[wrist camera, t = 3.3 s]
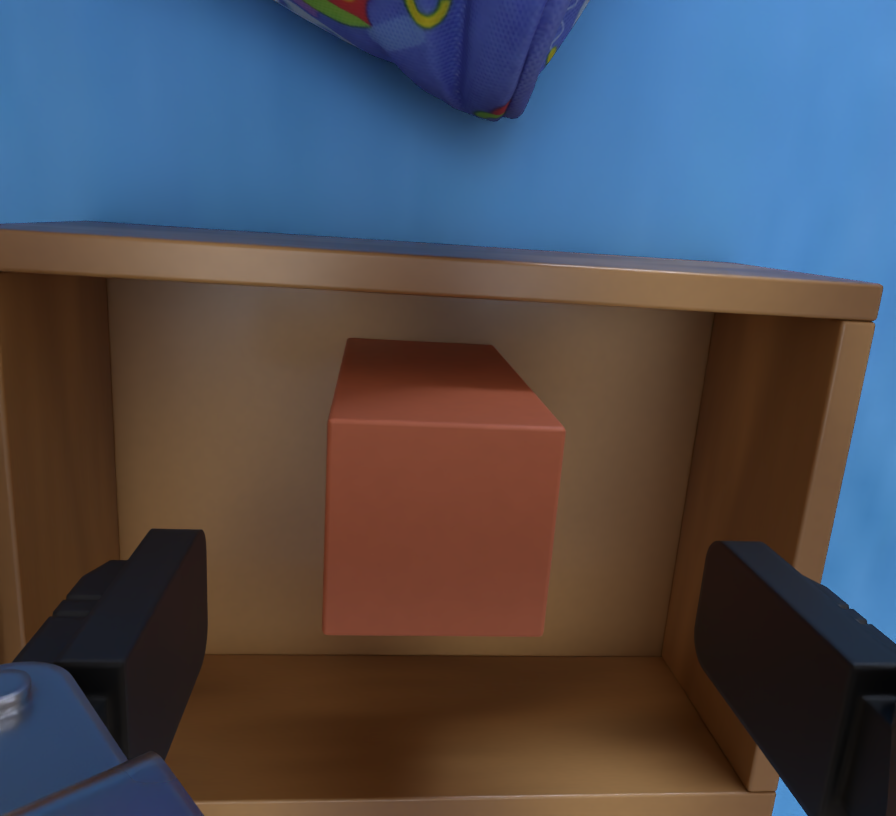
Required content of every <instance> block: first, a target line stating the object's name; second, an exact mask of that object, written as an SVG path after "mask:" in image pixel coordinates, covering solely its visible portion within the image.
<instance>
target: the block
mask: <svg viewBox="0 0 896 816" xmlns="http://www.w3.org/2000/svg"><path fill="white" fill-rule="evenodd" d="M565 435H566V430H565V428H564V426H563V425H562V424H561V423H560V422H559V421H558V419H557V418H556V417H555V416H554V415H553V414H552V413H551V411H550V410H549V409H548V408H547V407H546V406H545V405H544V403H543V402H542V401H541V400H540V399H539V398H538V396H537V395H536V394H535V393H534V392H533V391H532V390H531V388H530V387H529V386H528V385H527V384H526V383H525V382H524V380H523V379H522V378H521V377H520V376H519V375H518V373H517V372H516V371H515V370H514V369H513V368H512V367H511V365H510V364H509V363H508V362H507V361H506V360H505V359H504V357H503V356H502V355H501V354H500V353H499V352H498V350H497V349H496V348H495V347H494V346H492V345H482V344H462V343H442V342H422V341H403V340H383V339H363V338H348V339H347V341H346V346H345V350H344V354H343V358H342V363H341V367H340V371H339V375H338V380H337V384H336V388H335V392H334V397H333V401H332V405H331V409H330V414H329V418H328V422H327V458H326V495H325V532H324V570H323V607H322V631H323V633H324V634H325V635H361V636H486V637H540V636H542V635H543V632H544V624H545V615H546V606H547V597H548V588H549V579H550V570H551V561H552V552H553V543H554V534H555V525H556V516H557V507H558V498H559V489H560V480H561V471H562V462H563V453H564V444H565Z"/></svg>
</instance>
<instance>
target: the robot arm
mask: <svg viewBox="0 0 896 816" xmlns="http://www.w3.org/2000/svg"><path fill="white" fill-rule="evenodd" d="M207 633H208V603H207V550H206V538H205V533H204V531H203V530H202V529H157V528H152V529H150V530H149V532H148V533H147V534H146V536H145V537H144V538H143V540H142V541H141V543H140V544H139V545H138V547H137V548H136V549H135V551H134V552H133V554H132V555H131V556H130V558H129V559H128V560H110V561H108V562H106V563H104V564H103V565H101V566H99V567H98V568H96V569H94V570H92V571H91V572H89V573H87V574H85V575H84V576H82V577H81V579H80V580H79V581H78V582H77V583H76V585H75V586H74V587H73V588H72V589H71V591H70V592H69V593H68V594H67V596H66V600H62V602H61V603H60V604H59V605H58V606H57V608H56V609H55V610H54V611H53V615H52V616H49V617H48V619H47V620H46V621H45V622H44V623H43V625H42V626H41V627H40V628H39V630H38V631H37V632H36V633H35V634H34V636H33V637H32V638H31V639H30V640H29V642H28V643H27V644H26V645H25V647H24V648H23V649H22V650H21V651H20V653H19V654H18V655H17V656H16V658H15V659H14V660H13V661H12V662H11V663H7V664H2V665H0V816H204V815H203V813H202V812H201V811H200V809H199V808H198V806H197V805H196V804H195V802H194V801H193V800H192V798H191V797H190V795H189V794H188V793H187V791H186V790H185V788H184V787H183V786H182V784H181V783H180V782H179V780H178V779H177V777H176V776H175V775H174V773H173V772H172V771H171V769H170V768H169V766H168V765H167V764H166V762H165V759H166V756H167V754H168V751H169V749H170V746H171V743H172V741H173V738H174V736H175V733H176V731H177V728H178V726H179V723H180V721H181V718H182V715H183V713H184V710H185V708H186V705H187V703H188V700H189V698H190V695H191V692H192V690H193V687H194V685H195V682H196V680H197V677H198V675H199V672H200V670H201V667H202V664H203V660H204V656H205V650H206V644H207ZM694 644H695V650H696V655H697V658H698V661H699V663H700V666H701V667H702V669H703V671H704V672H705V673H706V675H707V676H708V678H709V679H710V680H711V682H712V683H713V684H714V686H715V687H716V689H717V690H718V691H719V693H720V694H721V696H722V697H723V698H724V700H725V701H726V703H727V704H728V705H729V707H730V708H731V709H732V711H733V712H734V714H735V715H736V716H737V718H738V719H739V721H740V722H741V723H742V725H743V726H744V728H745V729H746V730H747V732H748V733H749V735H750V736H751V737H752V739H753V740H754V741H755V743H756V744H757V746H758V747H759V748H760V750H761V751H762V753H763V754H764V755H765V757H766V758H767V760H768V761H769V762H770V764H771V765H772V767H773V768H774V769H775V771H776V772H777V773H778V775H779V776H780V778H781V779H782V780H783V782H784V783H785V785H786V786H787V787H788V789H789V790H790V792H791V793H792V794H793V796H794V797H795V798H796V800H797V801H798V803H799V804H800V805H801V807H802V808H803V810H804V811H805V812H806V814H807V815H808V816H896V644H895V643H894V642H893V641H891V640H890V639H889V638H888V637H887V636H885V635H884V634H883V633H882V632H880V631H879V630H878V629H877V628H876V627H874V626H873V625H872V624H867V620H866V619H865V618H863V617H862V616H861V615H860V614H859V613H857V612H856V611H855V610H854V609H849V605H848V604H846V603H845V602H844V601H843V600H842V599H840V598H839V597H838V596H837V595H836V594H834V593H833V592H832V591H831V590H829V589H828V588H827V587H825V586H823V585H821V584H819V583H817V582H815V581H813V580H811V579H809V578H807V577H806V576H804V575H802V574H801V573H800V572H798V571H797V570H796V569H795V568H794V567H792V566H791V565H790V564H789V563H788V562H786V561H785V560H784V559H783V558H782V557H781V556H779V555H778V554H777V553H776V552H775V551H773V550H772V549H771V548H770V547H769V546H767V545H766V544H765V543H763V542H760V541H714V542H713V543H712V544H711V545H710V546H709V548H708V551H707V554H706V558H705V564H704V571H703V577H702V583H701V589H700V595H699V602H698V608H697V614H696V620H695V627H694Z"/></svg>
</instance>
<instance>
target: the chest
mask: <svg viewBox="0 0 896 816" xmlns="http://www.w3.org/2000/svg"><path fill="white" fill-rule="evenodd" d="M882 292H883V286H882V285H880V284H878V283H871V282H864V281H857V280H850V279H843V278H836V277H829V276H822V275H815V274H808V273H801V272H794V271H787V270H780V269H773V268H766V267H759V266H752V265H745V264H738V263H728V262H713V261H697V260H682V259H666V258H651V257H636V256H620V255H605V254H589V253H574V252H558V251H543V250H528V249H512V248H497V247H481V246H466V245H450V244H435V243H420V242H404V241H389V240H373V239H358V238H342V237H327V236H312V235H296V234H281V233H265V232H250V231H234V230H219V229H204V228H188V227H173V226H157V225H142V224H126V223H111V222H96V221H69V222H37V223H5V224H0V665H2V664H7V663H11V662H12V661H13V660H14V659H15V658H16V656H17V655H18V654H19V653H20V651H21V650H22V649H23V648H24V647H25V645H26V644H27V643H28V642H29V640H30V639H31V638H32V637H33V636H34V634H35V633H36V632H37V631H38V630H39V628H40V627H41V626H42V625H43V623H44V622H45V621H46V620H47V619H48V617H49V616H52V615H53V611H54V610H55V609H56V608H57V606H58V605H59V604H60V603H61V602H62V600H66V596H67V594H68V593H69V592H70V591H71V589H72V588H73V587H74V586H75V585H76V583H77V582H78V581H79V580H80V579H81V577H82V576H84V575H85V574H87V573H89V572H91V571H92V570H94V569H96V568H98V567H99V566H101V565H103V564H104V563H106V562H108V561H110V560H128V559H129V558H130V556H131V555H132V554H133V552H134V551H135V549H136V548H137V547H138V545H139V544H140V543H141V541H142V540H143V538H144V537H145V536H146V534H147V533H148V532H149V530H150V529H152V528H157V529H202V530H203V531H204V533H205V538H206V550H207V603H208V633H207V644H206V650H205V656H204V660H203V664H202V667H201V670H200V672H199V675H198V677H197V680H196V682H195V685H194V687H193V690H192V692H191V695H190V698H189V700H188V703H187V705H186V708H185V710H184V713H183V715H182V718H181V721H180V723H179V726H178V728H177V731H176V733H175V736H174V738H173V741H172V743H171V746H170V749H169V751H168V754H167V756H166V759H165V762H166V764H167V765H168V766H169V768H170V769H171V771H172V772H173V773H174V775H175V776H176V777H177V779H178V780H179V782H180V783H181V784H182V786H183V787H184V788H185V790H186V791H187V793H188V794H189V795H190V797H191V798H192V800H193V801H194V802H195V804H196V805H197V806H198V808H199V809H200V811H201V812H202V813H203V815H204V816H772V811H773V806H774V802H775V797H776V793H775V791H776V790H777V786H778V781H779V775H778V773H777V772H776V771H775V769H774V768H773V767H772V765H771V764H770V762H769V761H768V760H767V758H766V757H765V755H764V754H763V753H762V751H761V750H760V748H759V747H758V746H757V744H756V743H755V741H754V740H753V739H752V737H751V736H750V735H749V733H748V732H747V730H746V729H745V728H744V726H743V725H742V723H741V722H740V721H739V719H738V718H737V716H736V715H735V714H734V712H733V711H732V709H731V708H730V707H729V705H728V704H727V703H726V701H725V700H724V698H723V697H722V696H721V694H720V693H719V691H718V690H717V689H716V687H715V686H714V684H713V683H712V682H711V680H710V679H709V678H708V676H707V675H706V673H705V672H704V671H703V669H702V667H701V666H700V663H699V661H698V658H697V655H696V650H695V644H694V627H695V620H696V614H697V608H698V602H699V595H700V589H701V583H702V577H703V571H704V564H705V558H706V554H707V551H708V548H709V546H710V545H711V544H712V543H713V542H714V541H760V542H763V543H765V544H766V545H767V546H769V547H770V548H771V549H772V550H773V551H775V552H776V553H777V554H778V555H779V556H781V557H782V558H783V559H784V560H785V561H786V562H788V563H789V564H790V565H791V566H792V567H794V568H795V569H796V570H797V571H798V572H800V573H801V574H802V575H804V576H806V577H807V578H809V579H811V580H813V581H815V582H817V583H819V584H820V583H821V579H822V574H823V569H824V565H825V560H826V555H827V551H828V546H829V541H830V536H831V532H832V527H833V522H834V518H835V513H836V508H837V503H838V499H839V494H840V489H841V485H842V480H843V475H844V471H845V466H846V461H847V456H848V452H849V447H850V442H851V438H852V433H853V428H854V423H855V419H856V414H857V409H858V405H859V400H860V395H861V390H862V386H863V381H864V376H865V372H866V367H867V362H868V358H869V353H870V348H871V343H872V339H873V334H874V329H875V324H874V323H873V322H871V321H874V320H876V318H877V315H878V311H879V306H880V301H881V296H882ZM348 338H363V339H383V340H403V341H422V342H442V343H462V344H482V345H492V346H494V347H495V348H496V349H497V350H498V352H499V353H500V354H501V355H502V356H503V357H504V359H505V360H506V361H507V362H508V363H509V364H510V365H511V367H512V368H513V369H514V370H515V371H516V372H517V373H518V375H519V376H520V377H521V378H522V379H523V380H524V382H525V383H526V384H527V385H528V386H529V387H530V388H531V390H532V391H533V392H534V393H535V394H536V395H537V396H538V398H539V399H540V400H541V401H542V402H543V403H544V405H545V406H546V407H547V408H548V409H549V410H550V411H551V413H552V414H553V415H554V416H555V417H556V418H557V419H558V421H559V422H560V423H561V424H562V425H563V426H564V428H565V430H566V435H565V444H564V453H563V462H562V471H561V480H560V489H559V498H558V507H557V516H556V525H555V534H554V543H553V552H552V561H551V570H550V579H549V588H548V597H547V606H546V615H545V624H544V632H543V635H542V636H540V637H486V636H361V635H325V634H324V633H323V631H322V607H323V570H324V532H325V495H326V458H327V422H328V418H329V414H330V409H331V405H332V401H333V397H334V392H335V388H336V384H337V380H338V375H339V371H340V367H341V363H342V358H343V354H344V350H345V346H346V341H347V339H348Z"/></svg>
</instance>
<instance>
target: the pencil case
mask: <svg viewBox="0 0 896 816" xmlns="http://www.w3.org/2000/svg"><path fill="white" fill-rule="evenodd" d="M274 1H276V2H277V3H279V4H280V5H282V6H284V7H285V8H287V9H289V10H290V11H292V12H294V13H295V14H297V15H299V16H300V17H302V18H304V19H306V20H307V21H309V22H311V23H313V24H314V25H316V26H318V27H320V28H322V29H323V30H325V31H327V32H329V33H330V34H332V35H334V36H336V37H338V38H340V39H342V40H344V41H345V42H347V43H349V44H351V45H353V46H355V47H357V48H359V49H361V50H363V51H365V52H367V53H369V54H371V55H373V56H375V57H378V58H381V59H383V60H386V61H389V62H393V63H395V64H396V65H397V66H398V67H399V69H400V70H401V71H402V72H403V73H404V74H405V75H406V76H408V77H409V78H410V79H411V80H412V81H413V82H414V83H415V84H416V85H418V86H419V87H420V88H422V89H423V90H424V91H426V92H427V93H429V94H431V95H433V96H434V97H437V98H439V99H441V100H443V101H444V102H446V103H447V104H448V105H450V106H451V107H453V108H455V109H458V110H461V111H463V112H466V113H468V114H471V115H473V116H476V117H478V118H482V119H486V120H489V121H498V120H499V119H500V118H501V117H507V118H510V119H514V118H518V117H519V116H520V115H521V114H522V113H523V111H524V109H525V107H526V105H527V103H528V101H529V98H530V96H531V94H532V91H533V89H534V86H535V83H536V81H537V78H538V75H539V74H540V73H541V71H542V70H543V69H544V68H545V66H546V65H547V64H548V62H549V61H550V60H551V58H552V57H553V55H554V54H555V52H556V51H557V50H558V48H559V47H560V45H561V44H562V42H563V41H564V39H565V38H566V36H567V35H568V33H569V32H570V30H571V29H572V27H573V26H574V24H575V23H576V21H577V20H578V18H579V17H580V15H581V14H582V12H583V10H584V9H585V7H586V6H587V4H588V2H589V1H590V0H274Z"/></svg>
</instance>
